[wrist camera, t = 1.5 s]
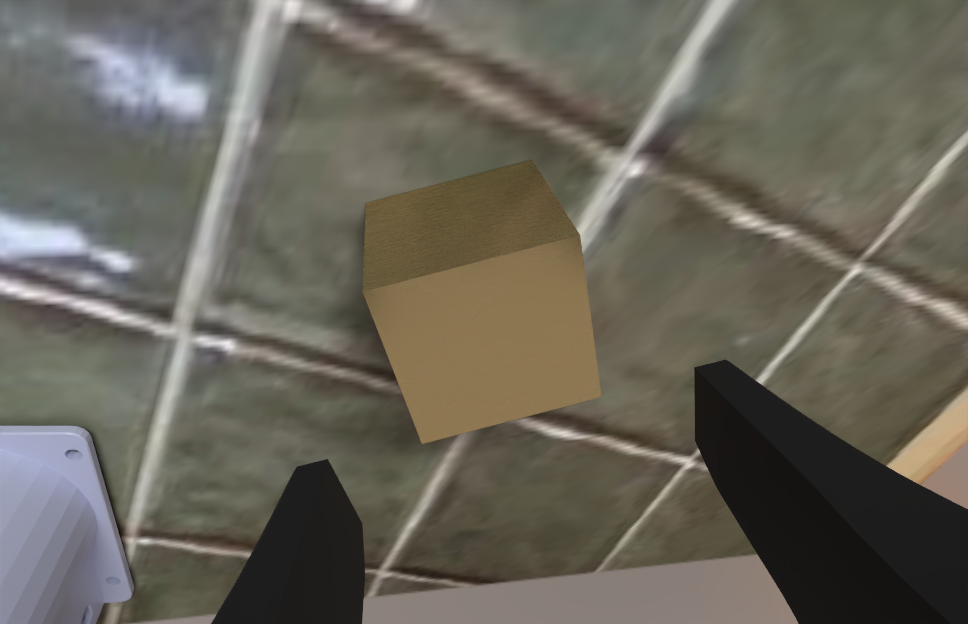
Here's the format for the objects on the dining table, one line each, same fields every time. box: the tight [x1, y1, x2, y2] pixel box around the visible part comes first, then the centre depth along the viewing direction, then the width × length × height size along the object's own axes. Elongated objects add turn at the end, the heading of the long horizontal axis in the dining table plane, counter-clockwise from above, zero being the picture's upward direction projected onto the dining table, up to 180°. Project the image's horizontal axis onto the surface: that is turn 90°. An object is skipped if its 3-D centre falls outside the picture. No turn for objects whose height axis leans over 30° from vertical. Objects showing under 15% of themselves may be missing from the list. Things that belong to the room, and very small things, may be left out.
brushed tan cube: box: [363, 160, 601, 444], centre depth 17 cm, size 5×5×5 cm
